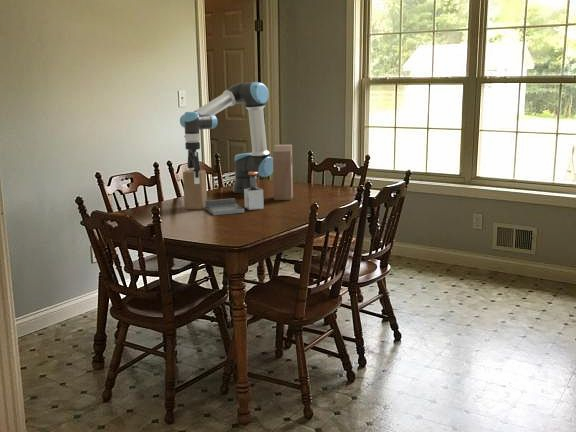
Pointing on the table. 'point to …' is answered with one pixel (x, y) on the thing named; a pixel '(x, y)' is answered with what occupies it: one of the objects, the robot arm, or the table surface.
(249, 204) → the pin housing
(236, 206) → the press bed
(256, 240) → the table surface
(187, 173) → the wooden block
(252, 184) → the press pin
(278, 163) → the decorative block
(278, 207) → the table surface
